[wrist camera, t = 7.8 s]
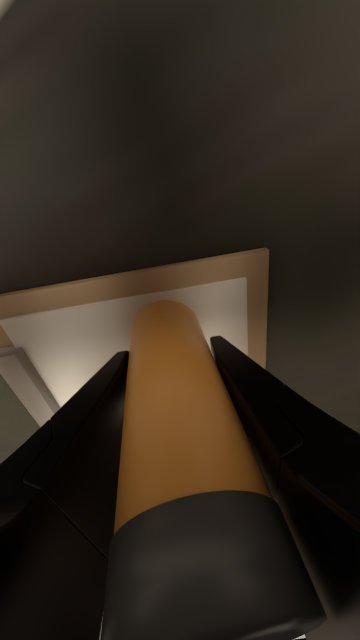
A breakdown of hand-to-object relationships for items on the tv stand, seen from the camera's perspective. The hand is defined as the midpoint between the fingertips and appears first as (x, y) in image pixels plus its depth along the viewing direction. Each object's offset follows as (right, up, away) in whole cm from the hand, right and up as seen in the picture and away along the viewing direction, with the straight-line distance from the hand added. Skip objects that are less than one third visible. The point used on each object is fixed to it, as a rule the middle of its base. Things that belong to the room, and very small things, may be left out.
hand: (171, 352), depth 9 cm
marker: (0, +1, +1) cm, 2 cm away
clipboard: (-2, -1, +4) cm, 4 cm away
